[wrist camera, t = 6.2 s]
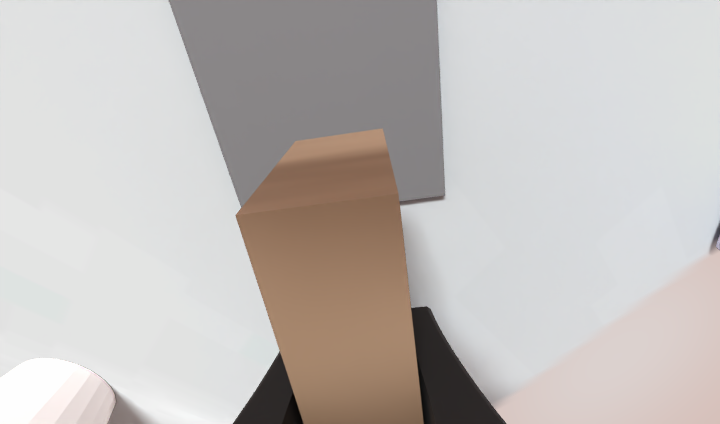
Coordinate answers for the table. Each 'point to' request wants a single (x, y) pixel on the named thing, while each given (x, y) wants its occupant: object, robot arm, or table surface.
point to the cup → (54, 394)
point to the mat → (318, 81)
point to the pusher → (337, 279)
